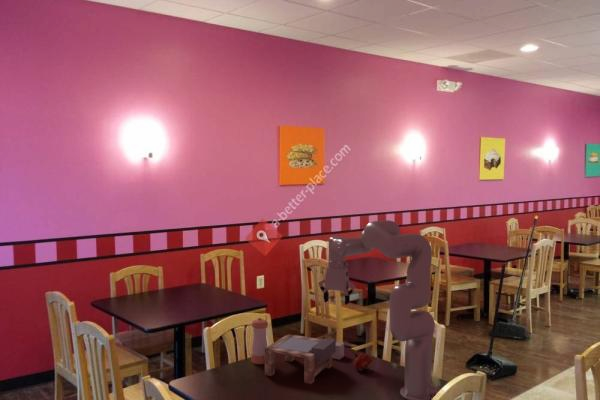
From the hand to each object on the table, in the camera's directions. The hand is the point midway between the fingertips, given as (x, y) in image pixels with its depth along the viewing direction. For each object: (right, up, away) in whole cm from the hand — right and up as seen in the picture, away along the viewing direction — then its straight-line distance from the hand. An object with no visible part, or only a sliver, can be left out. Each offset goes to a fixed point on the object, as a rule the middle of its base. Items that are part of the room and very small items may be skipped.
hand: (336, 302), depth 236 cm
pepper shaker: (-34, -25, -4) cm, 42 cm away
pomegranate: (+10, -26, -14) cm, 31 cm away
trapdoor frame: (-17, -25, -15) cm, 34 cm away
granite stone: (0, -25, +2) cm, 25 cm away
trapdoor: (-14, -17, -16) cm, 28 cm away
